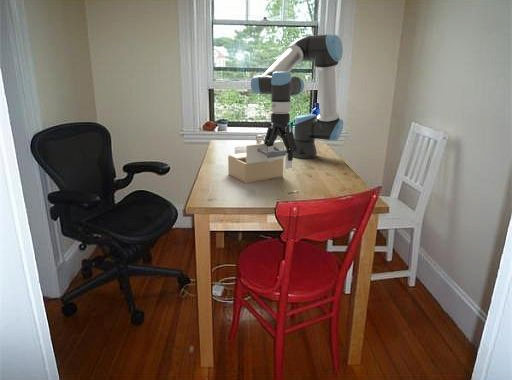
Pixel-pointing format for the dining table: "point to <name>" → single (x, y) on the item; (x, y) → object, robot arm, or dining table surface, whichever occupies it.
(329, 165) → the dining table surface
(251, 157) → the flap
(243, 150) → the white cup
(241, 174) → the cabinet
